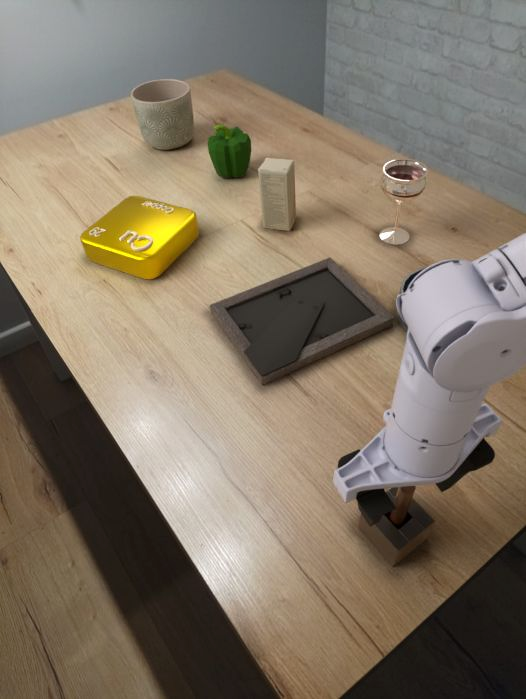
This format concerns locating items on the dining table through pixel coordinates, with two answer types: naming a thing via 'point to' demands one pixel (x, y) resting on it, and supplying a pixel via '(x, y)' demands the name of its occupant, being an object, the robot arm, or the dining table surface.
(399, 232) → the wineglass
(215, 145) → the bell pepper
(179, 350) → the dining table surface
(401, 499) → the brown cylindrical rod
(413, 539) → the stand
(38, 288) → the dining table surface
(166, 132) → the planter
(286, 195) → the box
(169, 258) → the element tile
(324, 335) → the picture frame
